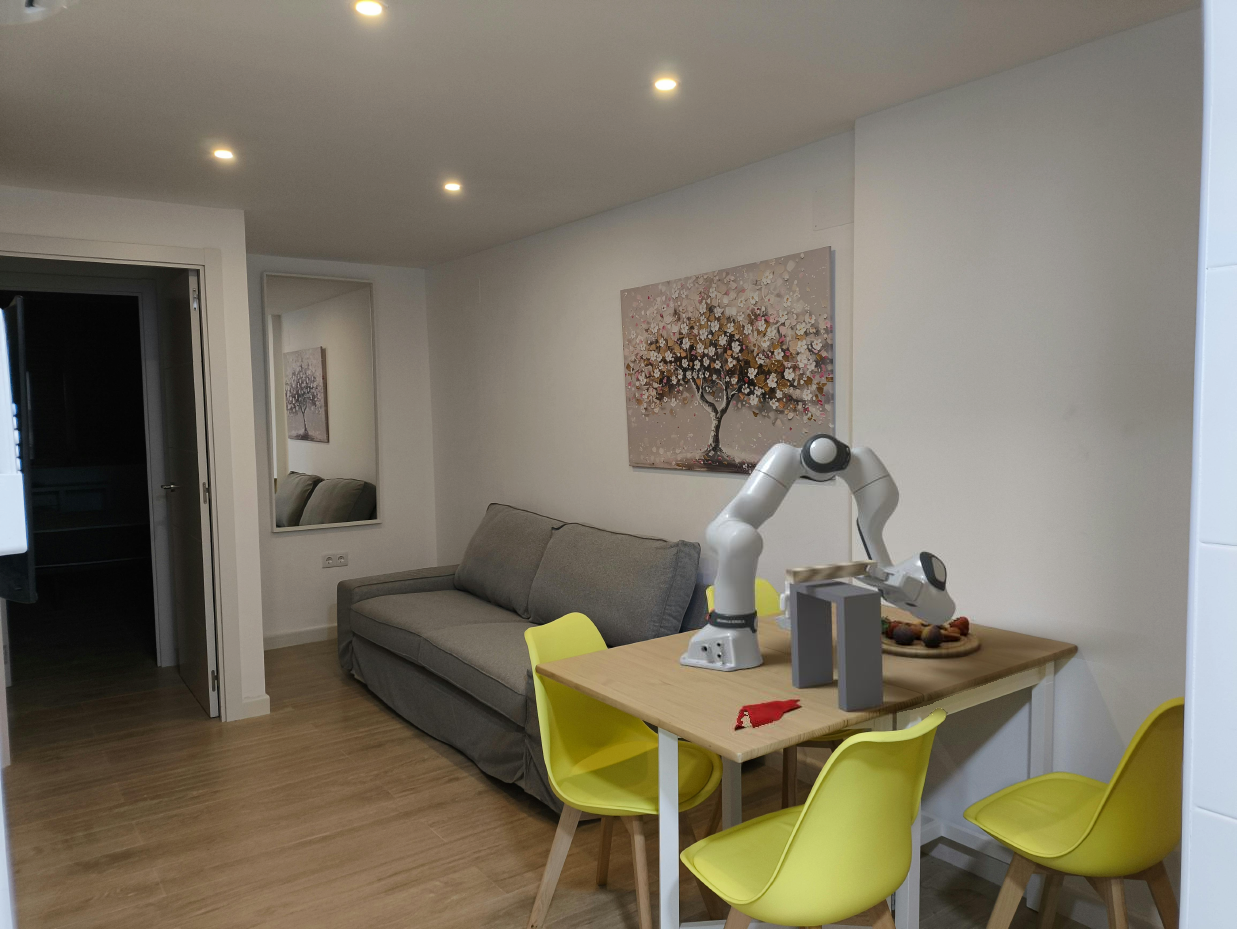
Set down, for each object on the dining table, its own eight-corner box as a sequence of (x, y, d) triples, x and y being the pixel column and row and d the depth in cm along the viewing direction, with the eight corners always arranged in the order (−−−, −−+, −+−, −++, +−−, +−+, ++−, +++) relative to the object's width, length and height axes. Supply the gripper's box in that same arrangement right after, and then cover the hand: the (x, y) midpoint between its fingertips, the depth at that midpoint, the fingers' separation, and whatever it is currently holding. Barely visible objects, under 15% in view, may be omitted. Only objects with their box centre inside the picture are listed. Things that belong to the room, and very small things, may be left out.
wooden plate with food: (961, 630, 260) (960, 603, 260) (997, 660, 229) (996, 629, 228) (853, 632, 264) (853, 605, 263) (874, 661, 232) (873, 630, 231)
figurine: (772, 629, 268) (771, 582, 268) (789, 624, 275) (788, 577, 274) (792, 633, 263) (791, 584, 263) (809, 627, 270) (807, 580, 269)
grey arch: (846, 711, 192) (843, 596, 190) (792, 685, 212) (789, 581, 211) (883, 705, 195) (880, 592, 194) (826, 679, 216) (823, 577, 214)
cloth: (785, 696, 206) (784, 687, 206) (828, 711, 194) (828, 702, 194) (701, 721, 191) (700, 711, 191) (742, 738, 180) (742, 728, 180)
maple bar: (793, 584, 200) (793, 571, 200) (786, 581, 203) (786, 569, 203) (877, 573, 209) (877, 561, 209) (869, 571, 212) (869, 559, 212)
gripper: (879, 571, 224) (840, 549, 219) (934, 584, 205) (893, 560, 200) (869, 593, 223) (830, 571, 218) (924, 608, 204) (882, 584, 199)
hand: (860, 566), depth 209 cm, fingers closed on maple bar, 3 cm apart
